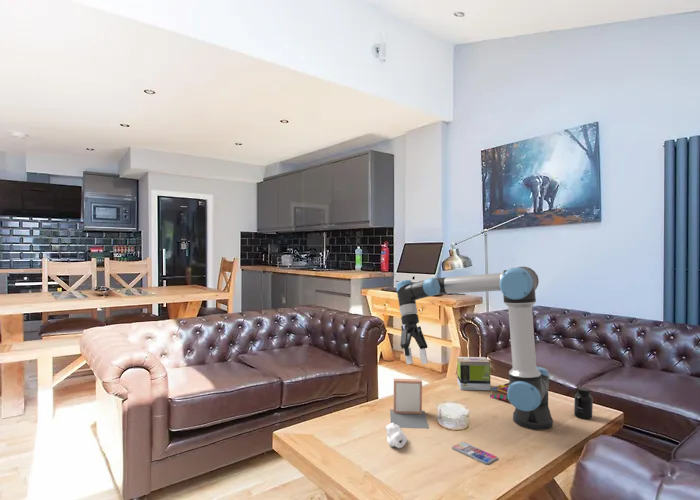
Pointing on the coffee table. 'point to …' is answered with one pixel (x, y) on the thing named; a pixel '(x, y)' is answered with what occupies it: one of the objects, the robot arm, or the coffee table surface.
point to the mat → (409, 420)
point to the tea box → (473, 373)
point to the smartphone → (475, 453)
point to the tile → (408, 396)
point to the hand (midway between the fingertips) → (417, 364)
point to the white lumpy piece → (395, 435)
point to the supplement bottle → (583, 404)
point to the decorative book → (500, 392)
